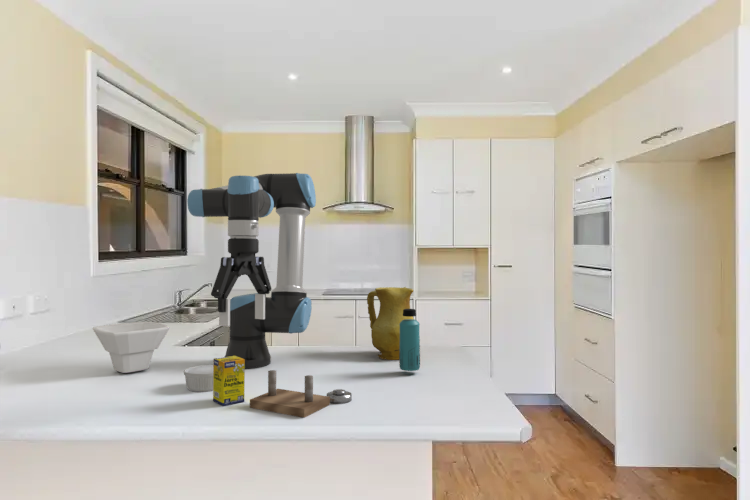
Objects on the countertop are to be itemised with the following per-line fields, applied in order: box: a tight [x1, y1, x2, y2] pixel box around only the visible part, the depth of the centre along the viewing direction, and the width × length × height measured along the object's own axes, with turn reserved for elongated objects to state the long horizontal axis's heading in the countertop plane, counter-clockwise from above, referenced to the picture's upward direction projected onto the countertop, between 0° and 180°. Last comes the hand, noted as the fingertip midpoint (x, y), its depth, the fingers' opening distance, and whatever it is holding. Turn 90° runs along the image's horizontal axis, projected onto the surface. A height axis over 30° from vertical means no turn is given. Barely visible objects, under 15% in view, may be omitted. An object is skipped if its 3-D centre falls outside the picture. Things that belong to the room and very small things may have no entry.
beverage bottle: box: [399, 308, 421, 372], centre depth 162 cm, size 6×7×20 cm
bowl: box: [92, 321, 170, 374], centre depth 164 cm, size 19×19×14 cm
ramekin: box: [183, 364, 213, 393], centre depth 146 cm, size 11×11×5 cm
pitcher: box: [366, 286, 414, 361], centre depth 188 cm, size 17×19×25 cm
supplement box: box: [212, 356, 246, 407], centre depth 133 cm, size 6×6×11 cm
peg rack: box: [249, 369, 331, 418], centre depth 129 cm, size 16×11×8 cm
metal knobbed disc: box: [326, 388, 353, 405], centre depth 135 cm, size 6×6×2 cm
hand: (243, 322), depth 132 cm, fingers open, 13 cm apart
